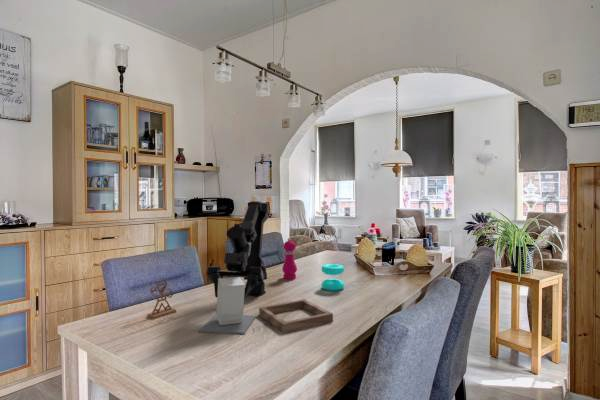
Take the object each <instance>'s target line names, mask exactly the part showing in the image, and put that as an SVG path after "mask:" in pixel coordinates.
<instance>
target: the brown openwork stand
mask: <svg viewBox="0 0 600 400" xmlns="http://www.w3.org/2000/svg"><path fill="white" fill-rule="evenodd" d="M162 281H163V282H162ZM160 282H162V283H160ZM155 286H156V287H155ZM155 286H151V287H150V290H149V291H150V294H151V296H153V297H156V303H155V306H154V308H153V310H152V312H150V313H147V315H146V318H147V319H150V320H156V319H159V318H162V317H165V316H166V317H167V316H168V315H171V314H175V313H177V309H176V308H173V307H171V305H170V303H169V301H168V300H167V298H169V299H170V298H172V297H173V296H174V294H173V290H171V288H168V287H167V286H168V283H167V281H166V280H164V279H160V280H158V281H157V283H156V285H155ZM161 286H162V287H161ZM166 290H168V291H169V293H166V292H165V291H166ZM154 292H157V293H159V295H155V294H154ZM160 295H161V296H160ZM163 295H164V297H163ZM163 301H165V303H166V304H167V305H166V306H165V305H164V303H163ZM159 303H160V305H159ZM158 305H159V307H158ZM157 307H158V308H157ZM161 308H163V309H161Z"/></svg>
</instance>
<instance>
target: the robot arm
mask: <svg viewBox="0 0 600 400" xmlns="http://www.w3.org/2000/svg"><path fill="white" fill-rule="evenodd" d="M270 212H271V211H270V204H268V203H266V202H261V201H254V200H253V201H249V202H248V204H247V210H246V212H245V215H244V217H243V220H242V221H241V223H234V225H233V226H232V227H230V228H228V229H227V231H226V237H227V239H228V243H229V244H230V246H231V247H230V248H232V251H231V252H225V253H224V258H223V263H224V264H225V269H227V270H224V269H221V267H220V266H218V265H217V266H215V265H211V266H210V265H209V266H208V267H207V268H206V271H205V274H206V275H207V278H208V279H209V281H211V282H212V283H213V287H214V296H215V298H217V293H218V279H219V278H232V277H240V278H243V280H244V281H245V280H246V284H245V293H244V299H246V297H247V296H254V297H259V296H261V295H264V294H266V292H267V291H266V290H265V289H266V288H265V287H266V286H265V280H267V279H268V274H267V269H266V266H265V264H264V263H265V261H264V260H263V258H262V248H263V247H262V246H263V245H262V244H263V236H264V235H263V233H264V225H265V223H266V221H267V220H268V218H269V217H268V216H269V214H270ZM249 243H250V244H249Z"/></svg>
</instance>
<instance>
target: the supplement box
mask: <svg viewBox="0 0 600 400" xmlns="http://www.w3.org/2000/svg"><path fill="white" fill-rule="evenodd" d="M245 286H246V284H245V283H244V281H243V280H242V277H222V278H219V279H218V293H217V297H216V298H217V299H216V313H215V314H216V315H217V318H218V321H219V324H220V325H226V324H235V323H242V322H243V315H244V307H245V298H244V293H245Z"/></svg>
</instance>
